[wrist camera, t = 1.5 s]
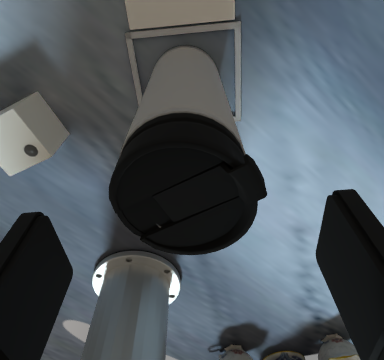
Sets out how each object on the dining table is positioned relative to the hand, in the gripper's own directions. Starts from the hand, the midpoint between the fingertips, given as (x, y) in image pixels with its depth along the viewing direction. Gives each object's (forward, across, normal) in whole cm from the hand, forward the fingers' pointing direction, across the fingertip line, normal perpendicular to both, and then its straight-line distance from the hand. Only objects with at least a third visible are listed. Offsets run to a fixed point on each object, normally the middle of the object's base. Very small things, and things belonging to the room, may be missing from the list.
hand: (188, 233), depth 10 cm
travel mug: (+22, 0, +1) cm, 22 cm away
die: (+22, +16, +4) cm, 27 cm away
